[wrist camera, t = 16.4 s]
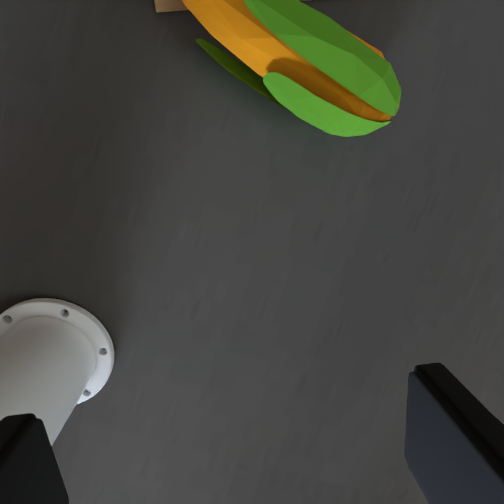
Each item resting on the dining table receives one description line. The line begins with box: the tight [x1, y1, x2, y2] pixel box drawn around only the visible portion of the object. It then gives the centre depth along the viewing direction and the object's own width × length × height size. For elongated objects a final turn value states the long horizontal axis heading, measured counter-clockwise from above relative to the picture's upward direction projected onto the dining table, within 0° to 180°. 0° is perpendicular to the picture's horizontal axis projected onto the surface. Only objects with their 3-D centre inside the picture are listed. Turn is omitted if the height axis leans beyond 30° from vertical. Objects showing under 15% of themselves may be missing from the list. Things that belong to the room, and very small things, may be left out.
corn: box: [182, 0, 401, 137], centre depth 27 cm, size 7×8×20 cm
